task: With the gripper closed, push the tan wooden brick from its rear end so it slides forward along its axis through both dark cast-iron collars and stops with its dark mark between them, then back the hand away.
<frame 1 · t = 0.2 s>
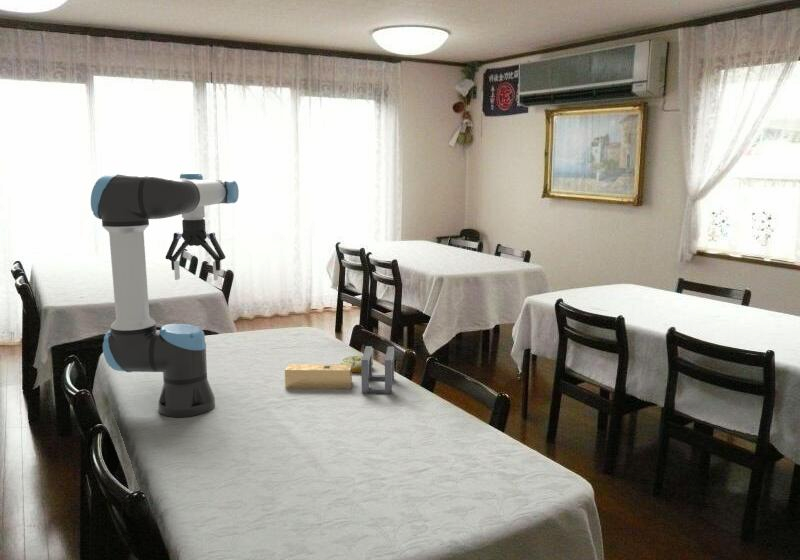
hand: (196, 279, 228), 28 cm above the table, fingers open, 13 cm apart
tan wooden brick: (319, 385, 203), on the table
decorated donut: (356, 369, 220), on the table
firebox collars: (378, 385, 202), on the table
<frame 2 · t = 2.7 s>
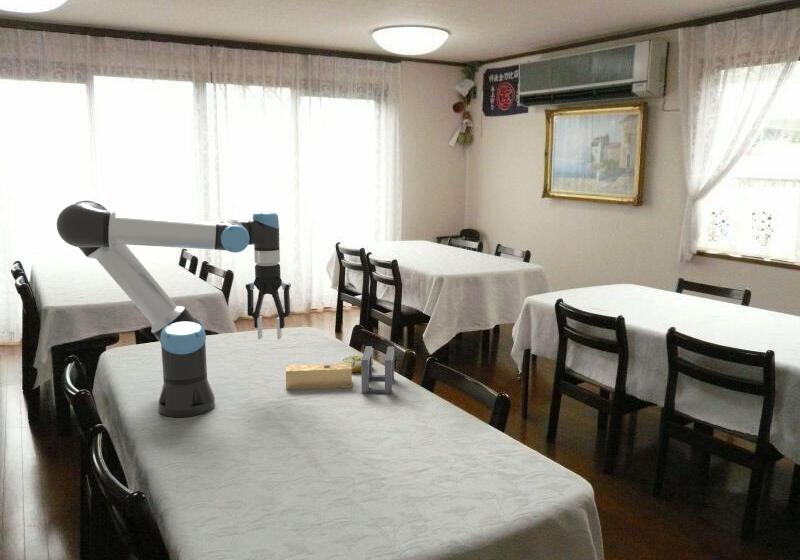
hand: (269, 338, 201), 15 cm above the table, fingers open, 5 cm apart
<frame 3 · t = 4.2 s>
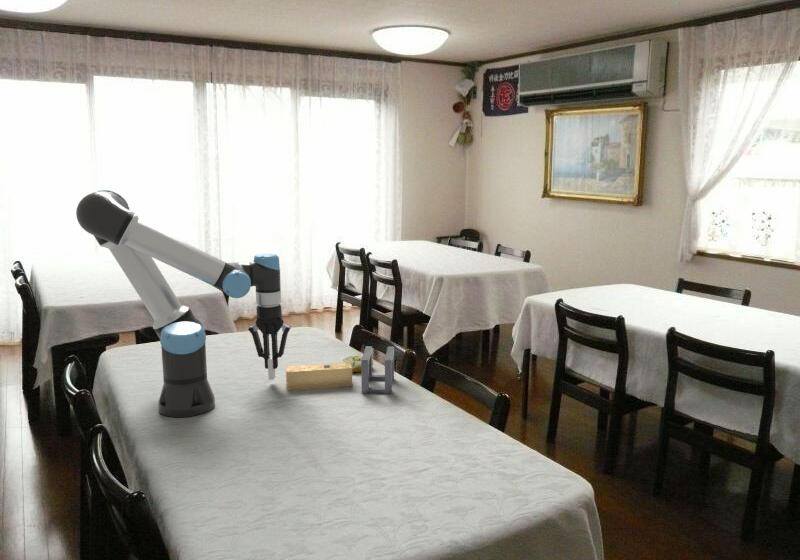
hand: (271, 378, 204), 2 cm above the table, fingers closed
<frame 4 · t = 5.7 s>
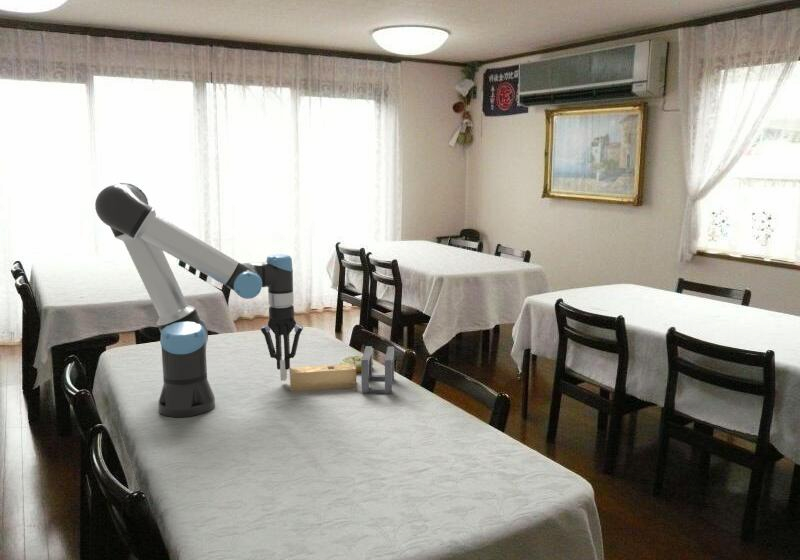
hand: (283, 379, 203), 2 cm above the table, fingers closed
tan wooden brick: (323, 386, 202), on the table, touching gripper
everything else where it was.
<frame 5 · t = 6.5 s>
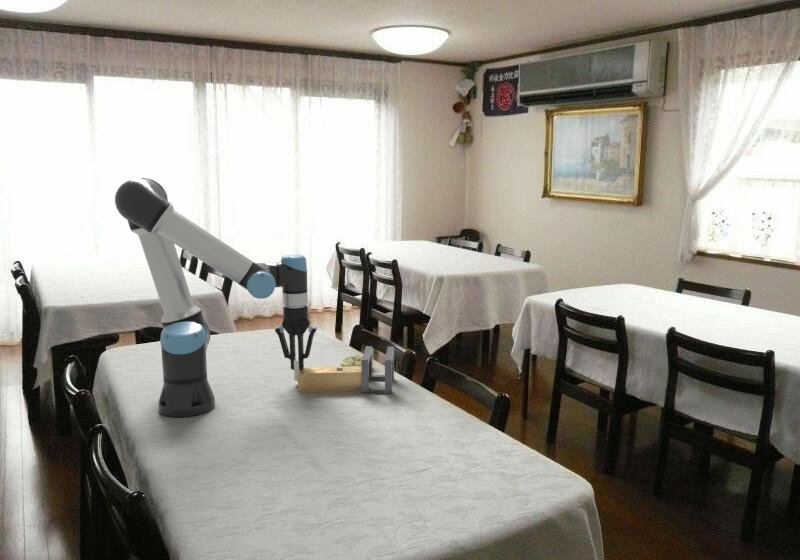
hand: (297, 379, 203), 2 cm above the table, fingers closed
tan wooden brick: (331, 388, 201), on the table, touching gripper
everything else where it was.
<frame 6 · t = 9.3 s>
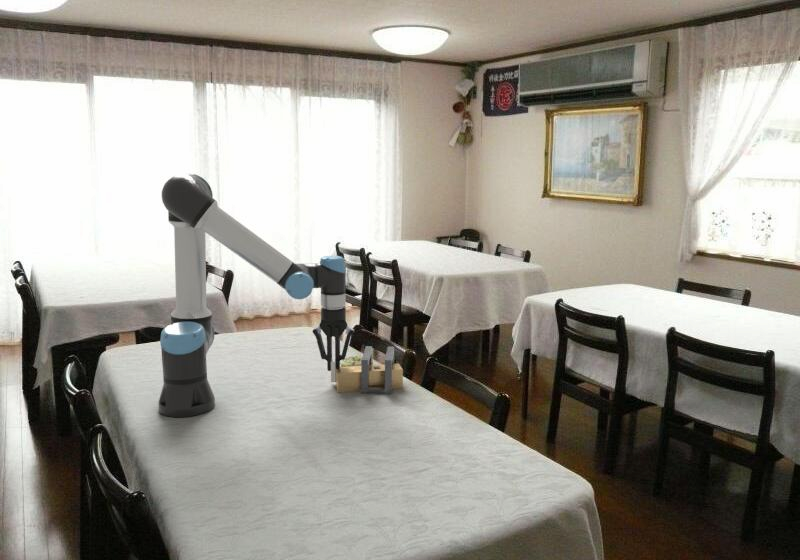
hand: (333, 380, 203), 1 cm above the table, fingers closed
tan wooden brick: (369, 386, 201), on the table, touching firebox collars, gripper
everything else where it was.
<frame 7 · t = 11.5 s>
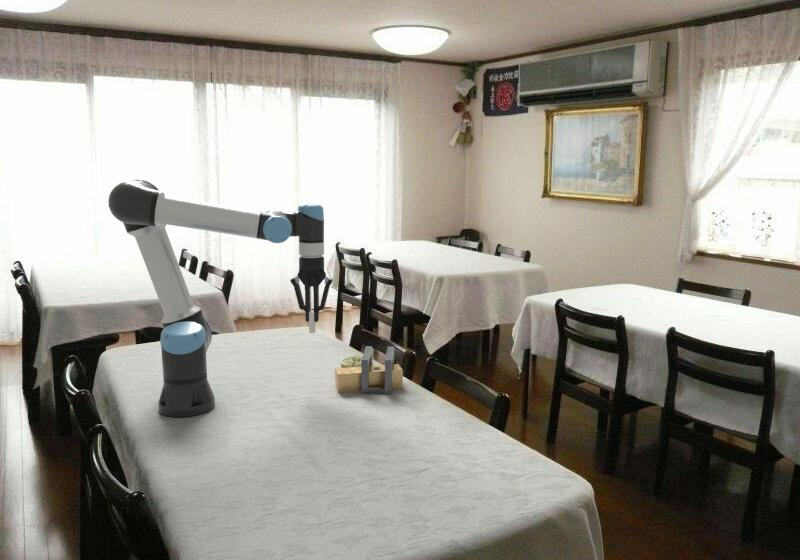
hand: (312, 331, 201), 17 cm above the table, fingers closed
tan wooden brick: (368, 387, 201), on the table
everything else where it was.
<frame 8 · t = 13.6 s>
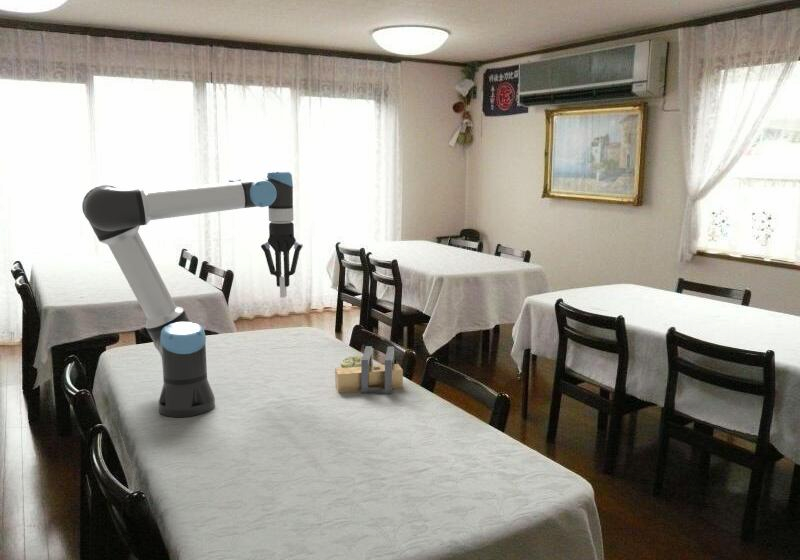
hand: (283, 296, 206), 26 cm above the table, fingers closed
nothing on the table moved.
at the end: tan wooden brick inside the target area (2.5 cm from its centre), on the table; tan wooden brick tilted 0°; the gripper is holding nothing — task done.
